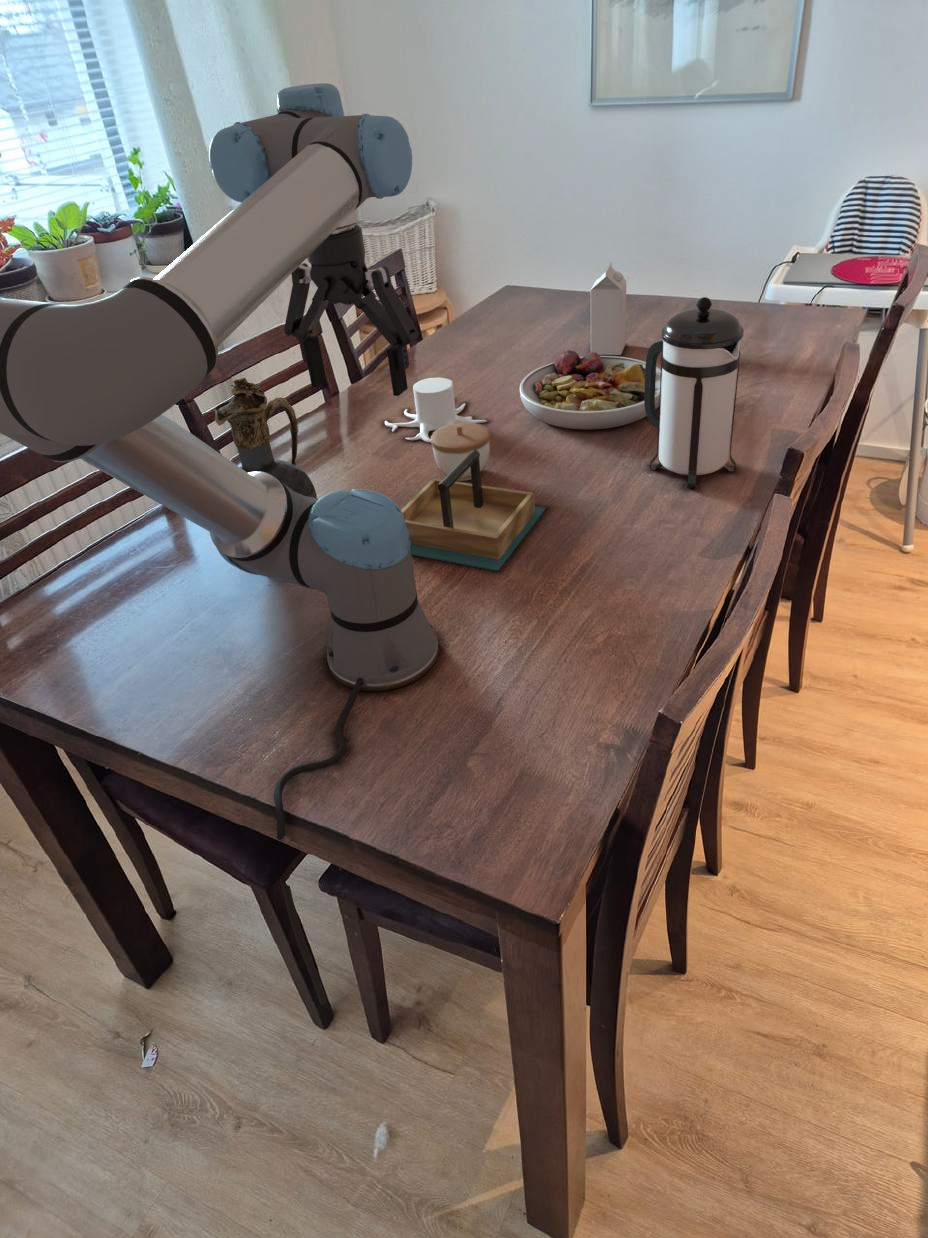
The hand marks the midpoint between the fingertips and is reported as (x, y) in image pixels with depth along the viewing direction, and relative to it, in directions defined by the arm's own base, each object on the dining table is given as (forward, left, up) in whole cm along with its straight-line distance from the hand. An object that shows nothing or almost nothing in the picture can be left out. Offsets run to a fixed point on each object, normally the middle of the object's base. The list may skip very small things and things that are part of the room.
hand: (359, 387), depth 122 cm
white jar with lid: (+30, +1, -29) cm, 42 cm away
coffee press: (+43, -37, -29) cm, 64 cm away
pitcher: (-4, +17, -29) cm, 34 cm away
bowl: (+65, -12, -29) cm, 72 cm away
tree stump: (+49, +17, -29) cm, 59 cm away
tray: (+12, -8, -28) cm, 32 cm away
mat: (+12, -8, -29) cm, 32 cm away
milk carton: (+96, -5, -29) cm, 100 cm away
